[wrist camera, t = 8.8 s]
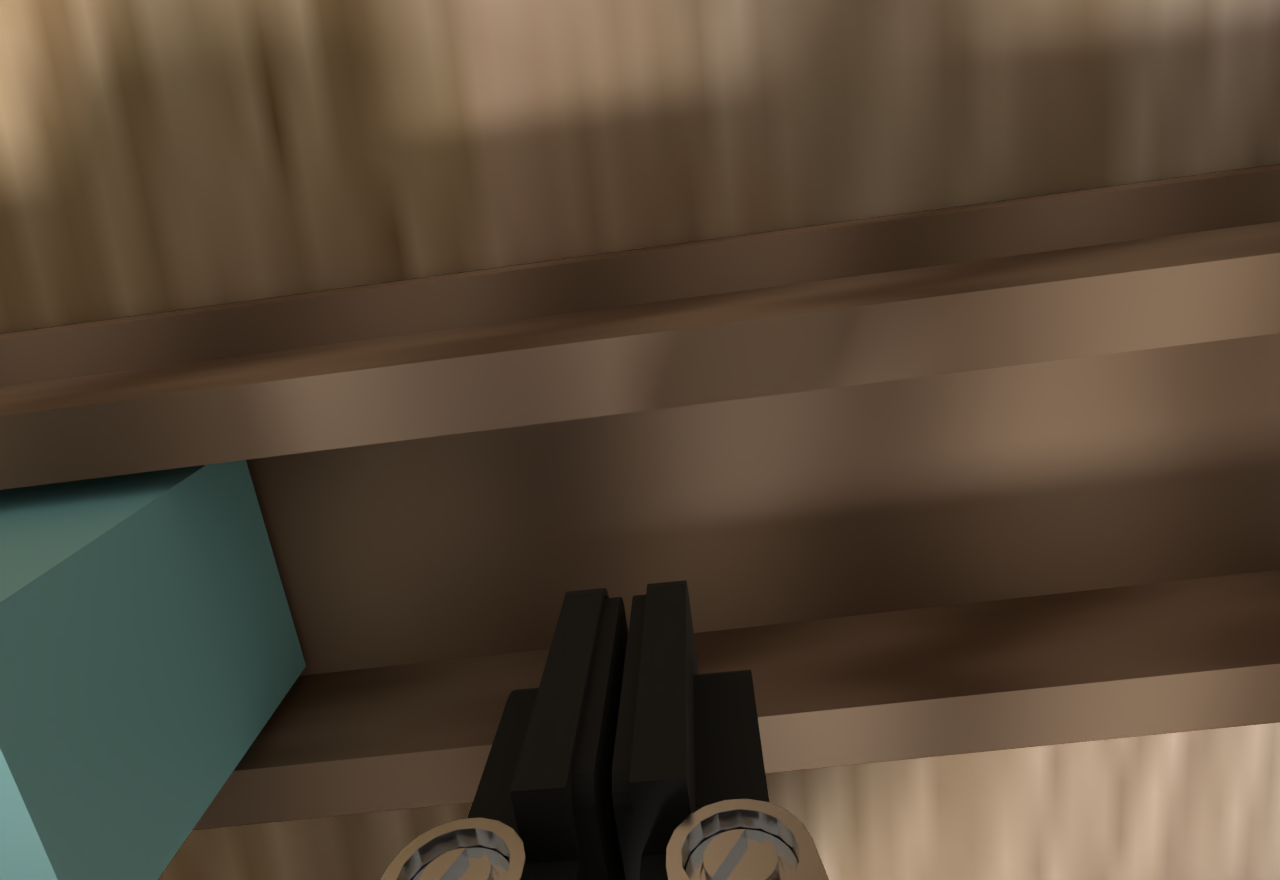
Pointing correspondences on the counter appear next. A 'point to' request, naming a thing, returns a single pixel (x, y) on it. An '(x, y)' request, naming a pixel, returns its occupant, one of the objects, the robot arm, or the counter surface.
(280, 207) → the counter surface
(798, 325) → the chute
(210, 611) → the block
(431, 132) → the counter surface
